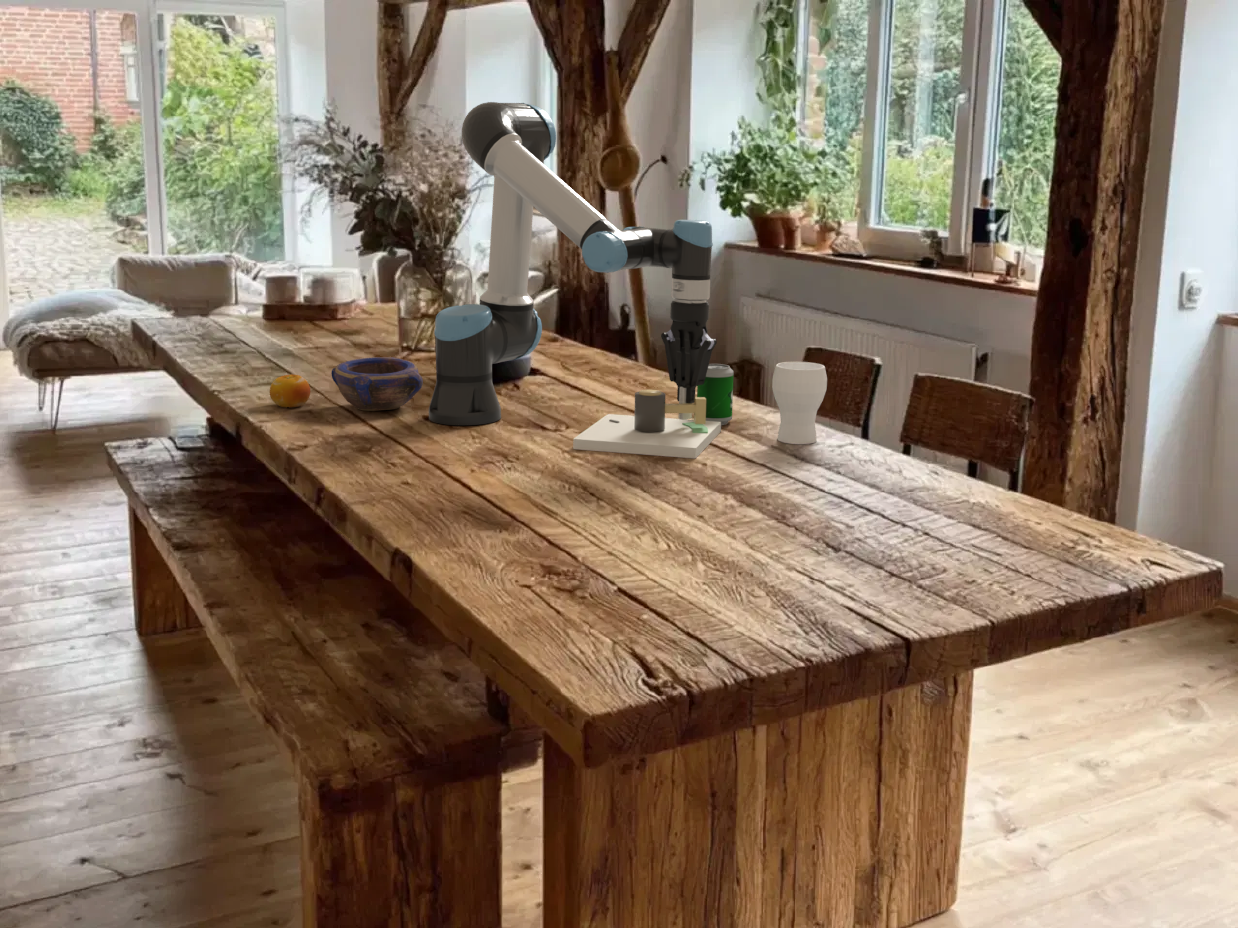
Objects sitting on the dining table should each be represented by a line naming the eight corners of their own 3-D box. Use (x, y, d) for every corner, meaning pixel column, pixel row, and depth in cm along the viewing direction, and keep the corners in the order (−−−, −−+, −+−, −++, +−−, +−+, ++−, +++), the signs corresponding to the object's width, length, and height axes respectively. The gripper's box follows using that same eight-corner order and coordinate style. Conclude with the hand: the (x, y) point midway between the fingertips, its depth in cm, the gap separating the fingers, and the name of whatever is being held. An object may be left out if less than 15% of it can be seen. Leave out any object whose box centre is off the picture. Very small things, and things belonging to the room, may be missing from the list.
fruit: (255, 391, 279) (276, 361, 278) (279, 399, 287) (298, 369, 286) (280, 413, 276) (301, 382, 275) (303, 420, 284) (323, 390, 283)
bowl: (349, 419, 269) (347, 372, 266) (326, 404, 284) (324, 359, 282) (431, 412, 277) (429, 366, 274) (404, 397, 292) (403, 354, 290)
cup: (828, 436, 258) (832, 363, 254) (818, 448, 248) (822, 372, 245) (776, 432, 261) (779, 359, 258) (764, 443, 252) (767, 368, 248)
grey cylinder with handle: (636, 432, 250) (636, 394, 248) (632, 425, 256) (633, 389, 254) (707, 431, 251) (708, 394, 250) (701, 424, 257) (702, 388, 255)
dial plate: (573, 449, 246) (573, 437, 245) (607, 423, 268) (607, 412, 267) (695, 458, 239) (696, 446, 239) (720, 431, 262) (721, 420, 261)
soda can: (729, 427, 266) (731, 370, 263) (693, 425, 267) (695, 368, 264) (734, 419, 273) (735, 364, 270) (698, 417, 274) (700, 362, 271)
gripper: (653, 298, 252) (649, 415, 258) (701, 305, 243) (696, 426, 249) (679, 296, 257) (674, 411, 263) (727, 302, 249) (721, 421, 254)
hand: (685, 418), depth 256 cm, fingers closed
